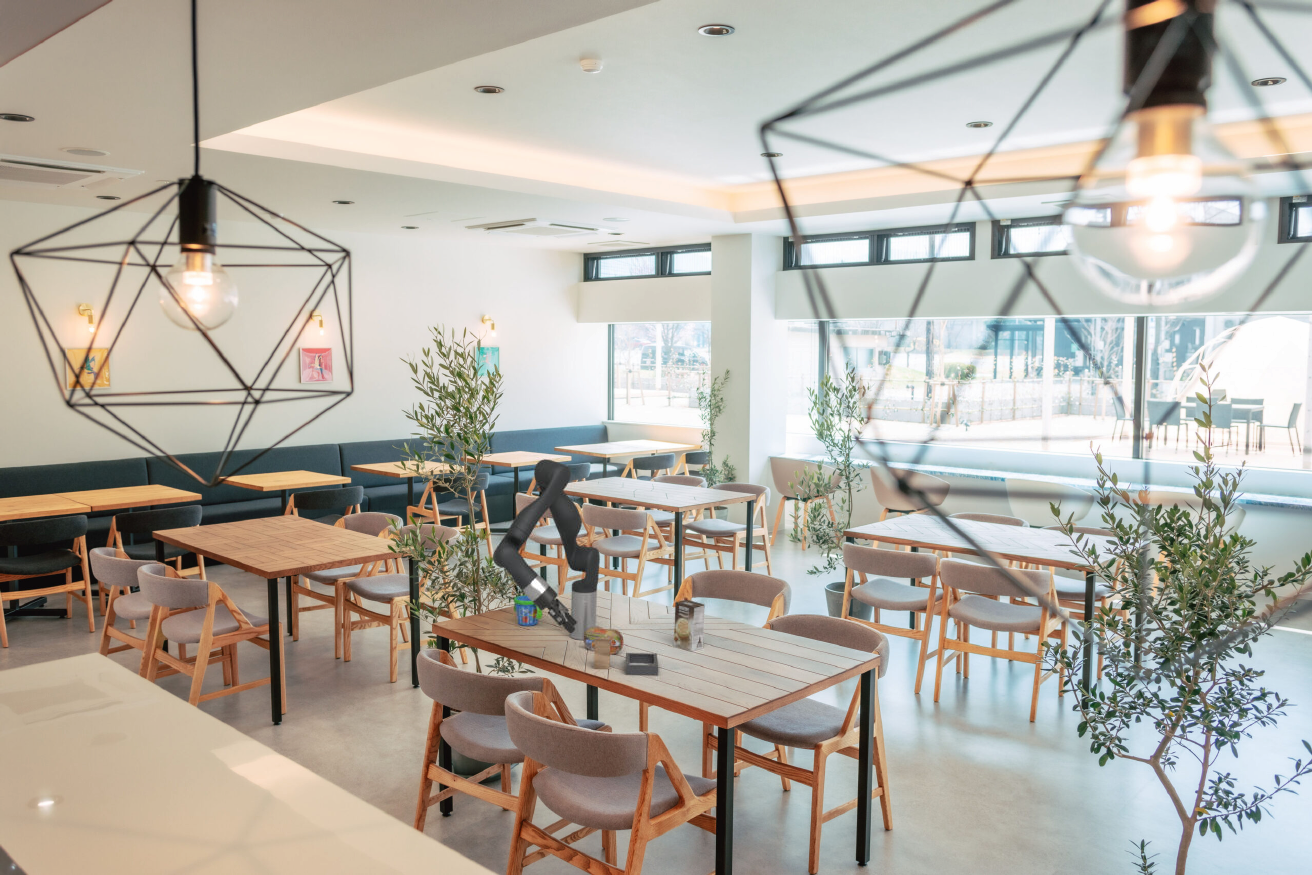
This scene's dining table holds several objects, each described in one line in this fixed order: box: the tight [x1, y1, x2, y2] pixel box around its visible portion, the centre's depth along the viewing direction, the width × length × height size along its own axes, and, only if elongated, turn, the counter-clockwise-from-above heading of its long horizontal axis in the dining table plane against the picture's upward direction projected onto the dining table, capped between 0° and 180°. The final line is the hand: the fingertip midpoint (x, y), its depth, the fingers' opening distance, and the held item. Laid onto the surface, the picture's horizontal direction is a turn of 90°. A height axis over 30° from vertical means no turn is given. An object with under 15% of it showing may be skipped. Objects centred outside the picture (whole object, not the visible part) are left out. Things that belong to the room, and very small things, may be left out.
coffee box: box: [673, 599, 705, 652], centre depth 328 cm, size 9×6×16 cm
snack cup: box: [513, 594, 543, 627], centre depth 352 cm, size 16×10×10 cm
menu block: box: [593, 637, 611, 670], centre depth 301 cm, size 4×5×10 cm
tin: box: [583, 626, 624, 655], centre depth 319 cm, size 15×3×8 cm, turn 62°
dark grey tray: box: [625, 652, 659, 677], centre depth 302 cm, size 14×10×3 cm
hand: (574, 627), depth 301 cm, fingers open, 8 cm apart
